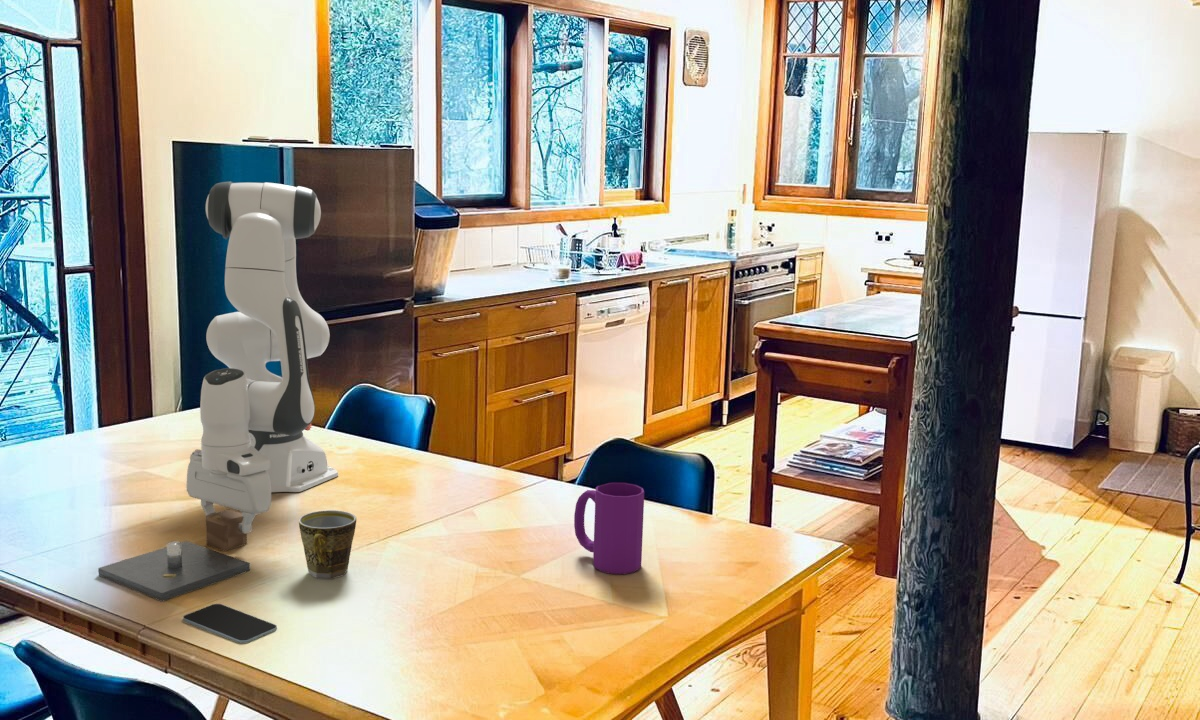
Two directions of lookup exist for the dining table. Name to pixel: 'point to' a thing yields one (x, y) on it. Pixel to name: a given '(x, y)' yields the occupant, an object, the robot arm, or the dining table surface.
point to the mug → (613, 527)
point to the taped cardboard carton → (225, 530)
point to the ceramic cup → (327, 542)
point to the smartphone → (229, 623)
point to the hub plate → (173, 570)
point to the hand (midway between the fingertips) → (228, 527)
